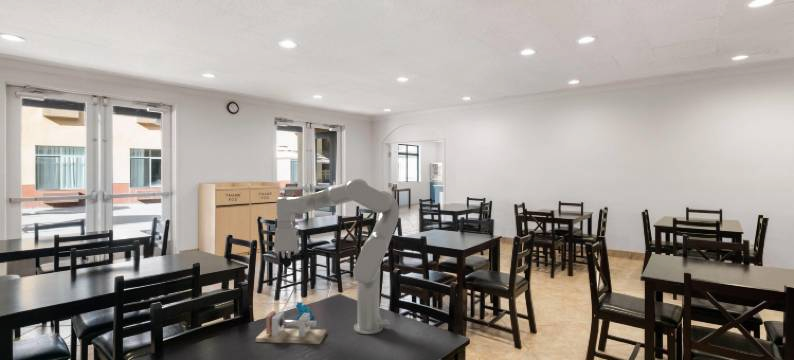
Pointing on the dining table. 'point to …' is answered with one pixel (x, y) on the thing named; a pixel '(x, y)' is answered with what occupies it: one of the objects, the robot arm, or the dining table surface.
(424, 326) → the dining table surface
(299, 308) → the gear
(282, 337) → the base plate
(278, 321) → the bearing blocks
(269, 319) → the shaft
